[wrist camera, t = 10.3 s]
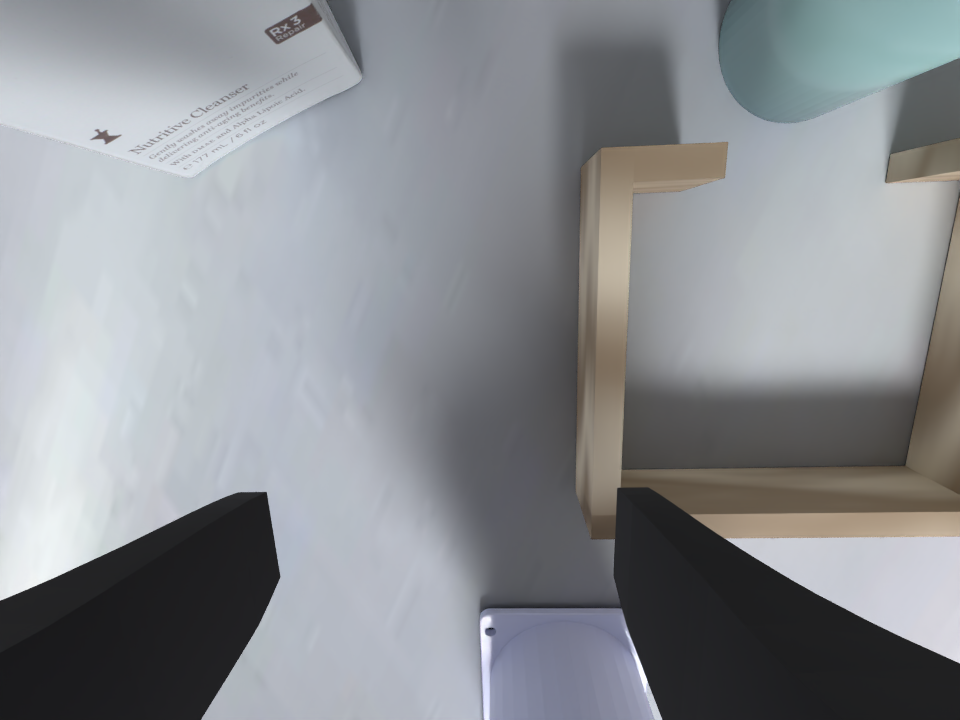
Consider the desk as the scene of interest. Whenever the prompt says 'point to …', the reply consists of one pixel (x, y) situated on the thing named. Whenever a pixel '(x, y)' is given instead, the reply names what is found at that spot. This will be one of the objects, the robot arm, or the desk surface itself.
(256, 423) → the desk surface
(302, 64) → the skincare box
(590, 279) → the cradle
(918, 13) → the teal cylinder with tab
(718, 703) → the robot arm
